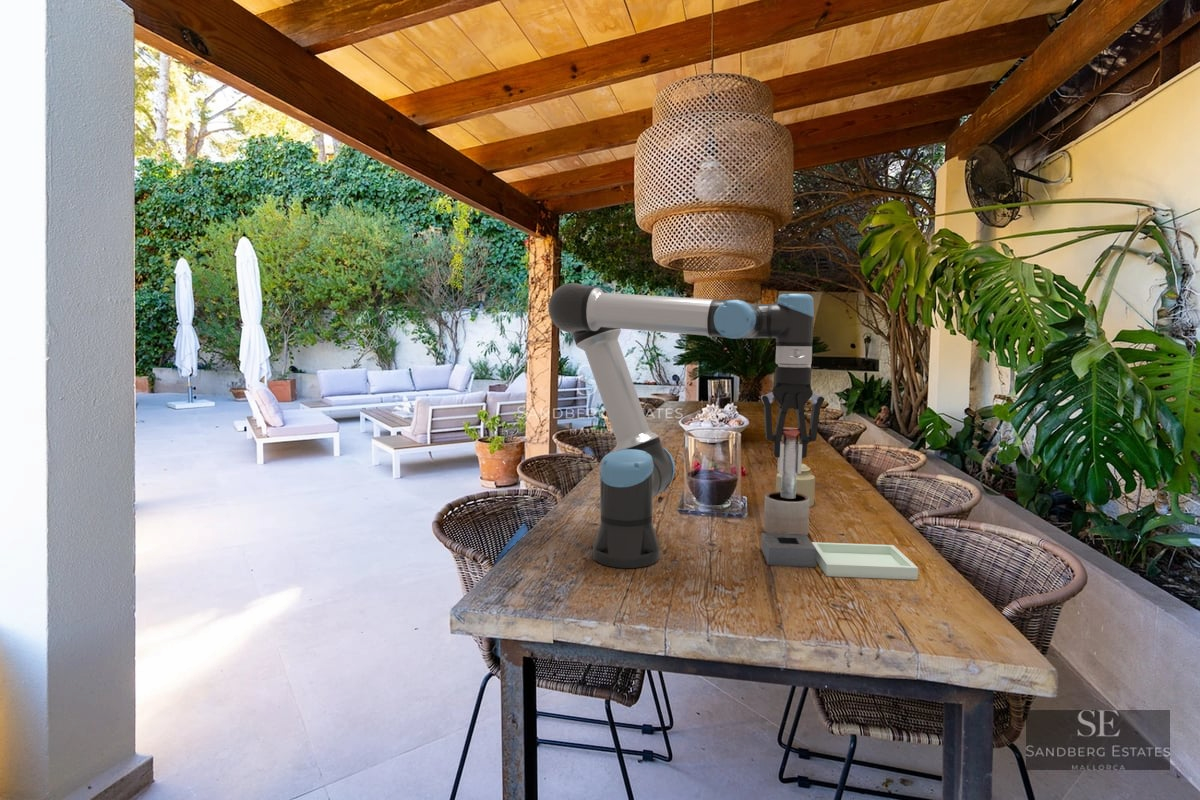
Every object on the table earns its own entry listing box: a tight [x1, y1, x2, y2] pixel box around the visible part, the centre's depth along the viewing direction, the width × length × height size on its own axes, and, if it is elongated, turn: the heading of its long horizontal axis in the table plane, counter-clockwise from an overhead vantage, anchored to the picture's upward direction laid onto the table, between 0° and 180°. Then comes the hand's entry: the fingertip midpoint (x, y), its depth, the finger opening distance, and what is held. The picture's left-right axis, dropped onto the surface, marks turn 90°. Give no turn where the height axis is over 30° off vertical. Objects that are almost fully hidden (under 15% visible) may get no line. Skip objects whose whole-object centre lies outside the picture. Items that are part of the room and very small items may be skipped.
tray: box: [811, 541, 919, 581], centre depth 133 cm, size 18×14×2 cm
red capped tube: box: [781, 426, 801, 499], centre depth 136 cm, size 4×4×15 cm
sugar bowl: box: [775, 463, 816, 508], centre depth 185 cm, size 15×11×15 cm
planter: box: [763, 491, 810, 536], centre depth 155 cm, size 11×11×10 cm
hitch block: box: [760, 532, 817, 568], centre depth 138 cm, size 10×10×4 cm
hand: (789, 471), depth 136 cm, fingers closed on red capped tube, 3 cm apart
